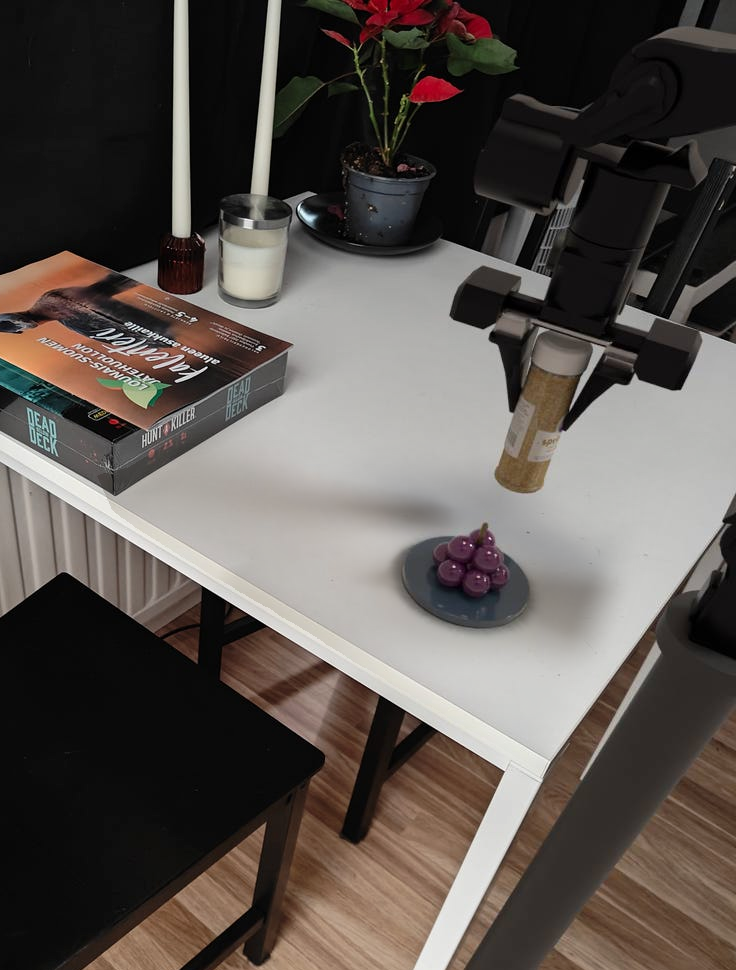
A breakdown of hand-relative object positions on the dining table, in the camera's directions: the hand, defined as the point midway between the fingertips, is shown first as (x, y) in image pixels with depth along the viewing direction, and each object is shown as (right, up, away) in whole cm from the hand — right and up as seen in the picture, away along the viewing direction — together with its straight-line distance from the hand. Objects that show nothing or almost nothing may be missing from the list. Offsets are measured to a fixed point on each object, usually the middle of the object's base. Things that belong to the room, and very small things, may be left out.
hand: (538, 419), depth 77 cm
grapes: (-6, -14, +1) cm, 15 cm away
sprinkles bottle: (-1, -5, +4) cm, 6 cm away
